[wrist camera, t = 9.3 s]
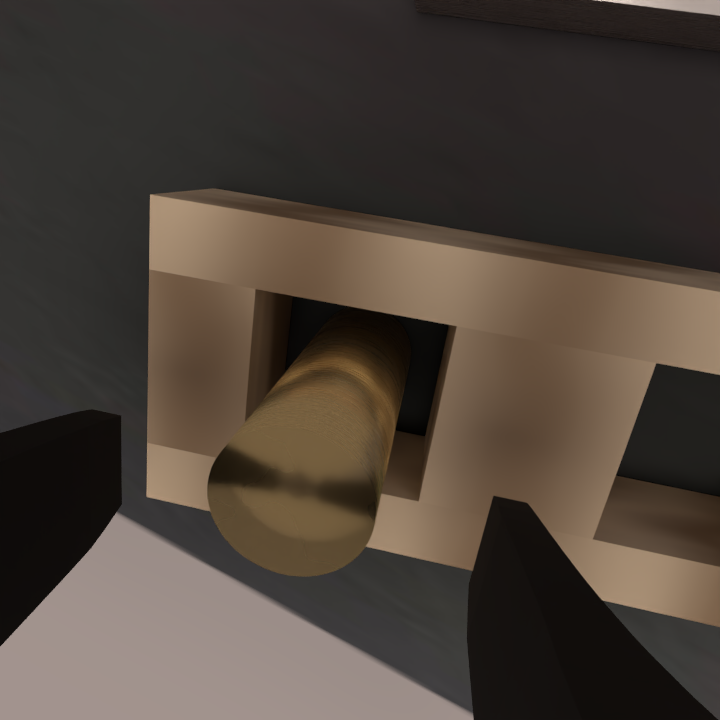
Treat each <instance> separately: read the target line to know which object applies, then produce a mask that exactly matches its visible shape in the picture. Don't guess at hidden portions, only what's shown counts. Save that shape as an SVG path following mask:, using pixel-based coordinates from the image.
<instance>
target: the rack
mask: <svg viewBox="0 0 720 720" xmlns="http://www.w3.org/2000/svg"><path fill="white" fill-rule="evenodd" d="M293 296H296V297H301V298H307V299H312V300H318V301H323V302H328V303H334V304H339V305H345V306H350V307H355V308H361V309H366V310H372V311H377V312H383V313H388V314H393V315H399V316H404V317H410V318H415V319H420V320H426V321H431V322H437V323H442V324H447V325H449V326H448V331H447V336H446V340H445V345H444V350H443V354H442V359H441V364H440V369H439V373H438V378H437V383H436V387H435V392H434V397H433V401H432V406H431V411H430V416H429V420H428V425H427V430H426V434H425V436H421V435H416V434H411V433H406V432H401V431H396V430H395V434H394V439H393V443H392V448H391V452H390V457H389V461H388V466H387V471H386V475H385V480H384V484H383V489H382V493H381V498H380V503H379V507H378V512H377V516H376V521H375V525H374V529H373V532H372V535H371V537H370V540H369V542H368V544H367V545H366V547H370V548H374V549H379V550H383V551H388V552H392V553H396V554H401V555H405V556H410V557H414V558H418V559H423V560H427V561H432V562H436V563H440V564H445V565H449V566H454V567H458V568H463V569H467V570H471V571H473V568H474V564H475V561H476V557H477V553H478V550H479V546H480V542H481V539H482V535H483V531H484V528H485V524H486V521H487V517H488V513H489V510H490V506H491V502H492V499H493V496H498V497H503V498H507V499H512V500H517V501H521V502H526V503H528V504H529V505H530V507H531V508H532V509H533V511H534V512H535V513H536V515H537V516H538V517H539V519H540V520H541V522H542V523H543V524H544V526H545V527H546V528H547V530H548V531H549V533H550V534H551V535H552V537H553V538H554V539H555V541H556V542H557V543H558V545H559V546H560V547H561V549H562V550H563V552H564V553H565V554H566V555H567V557H568V558H569V559H570V561H571V562H572V563H573V565H574V566H575V567H576V569H577V570H578V571H579V572H580V574H581V575H582V576H583V578H584V579H585V580H586V581H587V583H588V584H589V585H590V586H591V587H592V589H593V590H594V591H595V592H596V594H597V595H598V596H599V597H600V598H601V600H603V601H608V602H612V603H617V604H621V605H625V606H630V607H634V608H639V609H643V610H648V611H652V612H656V613H661V614H665V615H670V616H674V617H678V618H683V619H687V620H692V621H696V622H700V623H705V624H709V625H714V626H718V627H720V497H718V496H713V495H708V494H703V493H698V492H693V491H689V490H684V489H679V488H674V487H669V486H664V485H659V484H654V483H650V482H645V481H640V480H635V479H630V478H625V477H620V476H616V473H617V471H618V468H619V465H620V462H621V460H622V457H623V454H624V451H625V449H626V446H627V443H628V440H629V437H630V435H631V432H632V429H633V426H634V424H635V421H636V418H637V415H638V413H639V410H640V407H641V404H642V401H643V399H644V396H645V393H646V390H647V388H648V385H649V382H650V379H651V377H652V374H653V371H654V368H655V365H656V363H658V364H664V365H669V366H675V367H680V368H686V369H691V370H696V371H702V372H707V373H713V374H718V375H720V273H716V272H710V271H704V270H698V269H692V268H686V267H680V266H674V265H668V264H662V263H656V262H650V261H644V260H638V259H632V258H626V257H620V256H614V255H608V254H602V253H596V252H590V251H585V250H579V249H573V248H567V247H561V246H555V245H549V244H543V243H537V242H531V241H525V240H519V239H513V238H507V237H501V236H495V235H489V234H483V233H477V232H471V231H465V230H459V229H453V228H447V227H442V226H436V225H430V224H424V223H418V222H412V221H406V220H400V219H394V218H388V217H382V216H376V215H370V214H364V213H358V212H352V211H346V210H340V209H334V208H328V207H322V206H316V205H310V204H304V203H299V202H293V201H287V200H281V199H275V198H269V197H263V196H257V195H251V194H245V193H239V192H233V191H227V190H221V189H215V188H213V189H203V190H192V191H182V192H172V193H161V194H151V195H150V248H149V336H148V425H147V497H150V498H154V499H159V500H163V501H167V502H172V503H176V504H181V505H185V506H189V507H194V508H198V509H203V510H207V511H210V508H209V504H208V497H207V484H208V477H209V474H210V470H211V467H212V465H213V463H214V461H215V459H216V458H217V456H218V455H219V454H220V452H221V451H222V450H223V448H224V447H225V446H226V445H227V443H228V442H229V441H230V440H231V439H232V437H233V436H234V435H235V434H236V432H237V431H238V430H239V429H240V427H241V426H242V425H243V424H244V423H245V421H246V420H247V419H248V418H249V416H250V415H251V414H252V413H253V411H254V410H255V409H256V408H257V407H258V405H259V404H260V403H261V402H262V400H263V399H264V398H265V397H266V395H267V394H268V393H269V392H270V391H271V389H272V388H273V387H274V386H275V384H276V383H277V382H278V381H279V379H280V378H281V377H282V376H283V374H284V373H285V367H286V357H287V348H288V338H289V329H290V319H291V310H292V301H293Z"/></svg>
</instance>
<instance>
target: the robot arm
mask: <svg viewBox="0 0 720 720" xmlns="http://www.w3.org/2000/svg"><path fill="white" fill-rule="evenodd" d="M121 504H122V488H121V416H120V415H116V414H111V413H106V412H102V411H97V410H92V409H91V410H86V411H80V412H75V413H71V414H67V415H63V416H59V417H55V418H52V419H48V420H44V421H41V422H37V423H34V424H30V425H27V426H23V427H20V428H16V429H13V430H9V431H6V432H2V433H0V646H1V645H2V644H3V643H4V642H5V641H6V640H7V639H8V638H9V636H10V635H11V634H12V633H13V632H14V631H15V630H16V629H17V628H18V627H19V626H20V625H21V624H22V622H23V621H24V620H25V619H26V618H27V617H28V616H29V615H30V614H31V613H32V612H33V611H34V610H35V608H36V607H37V606H38V605H39V604H40V603H41V602H42V601H43V600H44V599H45V597H47V596H48V595H49V593H50V592H51V591H52V590H53V589H54V588H55V587H56V586H57V585H58V584H59V583H60V582H61V580H62V579H63V578H64V577H65V576H66V575H67V574H68V573H69V572H70V571H71V570H72V568H73V567H74V566H75V565H76V564H77V563H78V562H79V561H80V560H81V559H82V557H83V556H84V555H85V554H86V553H87V552H88V551H89V550H90V548H91V547H92V546H93V545H94V543H95V542H96V540H97V539H98V538H99V536H100V535H101V534H102V532H103V531H104V530H105V528H106V527H107V525H108V524H109V522H110V521H111V519H112V518H113V516H114V515H115V513H116V512H117V510H118V509H119V507H120V506H121ZM467 643H468V656H469V668H470V681H471V692H472V704H473V715H474V720H718V719H717V718H716V717H714V716H713V715H712V714H711V713H710V712H709V711H708V710H707V709H706V708H705V707H704V706H703V705H702V704H700V703H699V702H698V701H697V700H696V699H695V698H694V697H693V696H692V695H691V694H690V693H689V692H688V691H687V690H686V689H685V688H684V687H683V686H682V685H681V684H680V683H679V682H678V681H677V680H676V679H675V678H674V677H673V676H672V675H671V674H670V673H669V672H668V671H667V670H666V669H665V668H664V667H663V666H662V665H661V664H660V663H659V662H658V661H657V660H656V659H655V658H654V657H653V656H652V655H651V654H650V653H649V652H648V651H647V650H646V649H645V648H644V647H643V646H642V645H641V644H640V643H639V642H638V641H637V640H636V638H635V637H634V636H633V635H632V634H631V633H630V632H629V631H628V630H627V628H626V627H625V626H624V625H623V624H622V623H621V622H620V620H619V619H618V618H617V617H616V616H615V615H614V614H613V612H612V611H611V610H610V609H609V608H608V607H607V606H606V604H605V603H604V602H603V601H602V600H601V598H600V597H599V596H598V595H597V594H596V592H595V591H594V590H593V589H592V587H591V586H590V585H589V584H588V583H587V581H586V580H585V579H584V578H583V576H582V575H581V574H580V572H579V571H578V570H577V569H576V567H575V566H574V565H573V563H572V562H571V561H570V559H569V558H568V557H567V555H566V554H565V553H564V552H563V550H562V549H561V547H560V546H559V545H558V543H557V542H556V541H555V539H554V538H553V537H552V535H551V534H550V533H549V531H548V530H547V528H546V527H545V526H544V524H543V523H542V522H541V520H540V519H539V517H538V516H537V515H536V513H535V512H534V511H533V509H532V508H531V507H530V505H529V504H528V503H526V502H521V501H517V500H512V499H507V498H503V497H498V496H493V499H492V502H491V506H490V510H489V513H488V517H487V521H486V524H485V528H484V531H483V535H482V539H481V542H480V546H479V550H478V553H477V557H476V561H475V564H474V568H473V572H472V575H471V579H470V583H469V595H468V623H467Z"/></svg>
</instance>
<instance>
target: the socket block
mask: <svg viewBox="0 0 720 720" xmlns="http://www.w3.org/2000/svg"><path fill="white" fill-rule="evenodd" d="M414 1H415V5H416V10H417V12H421V13H429V14H436V15H444V16H452V17H459V18H467V19H475V20H482V21H490V22H498V23H505V24H513V25H520V26H528V27H536V28H543V29H551V30H559V31H566V32H574V33H582V34H589V35H597V36H605V37H612V38H620V39H628V40H635V41H643V42H651V43H658V44H666V45H673V46H681V47H689V48H696V49H704V50H712V51H719V52H720V0H414Z"/></svg>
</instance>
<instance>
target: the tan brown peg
mask: <svg viewBox="0 0 720 720" xmlns="http://www.w3.org/2000/svg"><path fill="white" fill-rule="evenodd" d="M410 361H411V345H410V341H409V337H408V335H407V333H406V331H405V329H404V328H403V326H402V325H401V324H400V322H399V321H398V320H397V319H396V318H395V317H394V316H392V315H391V314H388V313H383V312H377V311H372V310H366V309H361V308H355V307H347V308H345V309H342V310H340V311H338V312H337V313H335V314H334V315H333V316H331V317H330V318H329V319H328V320H327V322H326V323H325V324H324V325H323V326H322V328H321V329H320V330H319V331H318V333H317V334H316V335H315V336H314V338H313V339H312V340H311V341H310V342H309V344H308V345H307V346H306V347H305V349H304V350H303V351H302V352H301V354H300V355H299V356H298V357H297V358H296V360H295V361H294V362H293V363H292V365H291V366H290V367H289V368H288V370H287V371H286V372H285V373H284V374H283V376H282V377H281V378H280V379H279V381H278V382H277V383H276V384H275V386H274V387H273V388H272V389H271V391H270V392H269V393H268V394H267V395H266V397H265V398H264V399H263V400H262V402H261V403H260V404H259V405H258V407H257V408H256V409H255V410H254V411H253V413H252V414H251V415H250V416H249V418H248V419H247V420H246V421H245V423H244V424H243V425H242V426H241V427H240V429H239V430H238V431H237V432H236V434H235V435H234V436H233V437H232V439H231V440H230V441H229V442H228V443H227V445H226V446H225V447H224V448H223V450H222V451H221V452H220V454H219V455H218V456H217V458H216V459H215V461H214V463H213V465H212V467H211V470H210V474H209V477H208V484H207V497H208V504H209V508H210V511H211V515H212V517H213V519H214V522H215V524H216V526H217V527H218V529H219V531H220V532H221V534H222V535H223V536H224V538H225V539H226V540H227V541H228V542H229V544H230V545H231V546H232V547H233V548H234V549H235V550H237V551H238V552H239V553H240V554H241V555H243V556H244V557H245V558H247V559H248V560H250V561H251V562H253V563H255V564H257V565H259V566H261V567H263V568H265V569H268V570H270V571H274V572H277V573H280V574H285V575H290V576H316V575H323V574H326V573H330V572H333V571H335V570H338V569H340V568H342V567H344V566H345V565H347V564H349V563H350V562H351V561H353V560H354V559H355V558H356V557H357V556H358V555H359V554H360V553H361V552H362V551H363V549H364V548H365V546H366V545H367V544H368V542H369V540H370V537H371V535H372V532H373V529H374V525H375V521H376V516H377V512H378V507H379V503H380V498H381V493H382V489H383V484H384V480H385V475H386V471H387V466H388V461H389V457H390V452H391V448H392V443H393V439H394V434H395V429H396V425H397V420H398V416H399V411H400V407H401V402H402V397H403V393H404V388H405V384H406V379H407V375H408V370H409V365H410Z"/></svg>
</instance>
